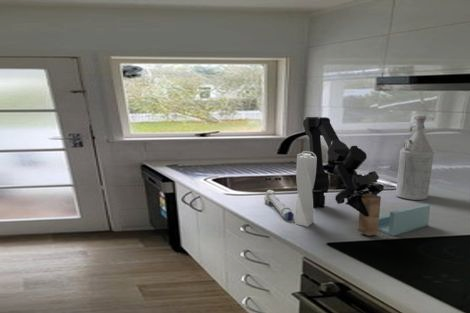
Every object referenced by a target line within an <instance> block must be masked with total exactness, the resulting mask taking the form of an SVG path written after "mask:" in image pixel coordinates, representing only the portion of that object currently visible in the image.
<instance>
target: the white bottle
mask: <svg viewBox="0 0 470 313" xmlns="http://www.w3.org/2000/svg"><path fill="white" fill-rule="evenodd" d="M426 116H427V115H426V114H425V115H424V114H419V113H418V114H417V113H416V114H415V116H414V118H413V120H412V122H413V123H411V125H409V126H410V127H409V131H410V132H412V131H413V128H415V132H414V133H413V134H412V135H411V137H410V138H409V139H404V142H403V145H402V148H401V149H400V150H399V158H398V159H399V161H398V170H397V179H396V190H395V195H396V197H399V198H402V199H406V200H413V201H415V200H416V201H418V200H419V201H420V200H421V201H422V200H426V199H428V198H429V190H430V183H431V176H432V168H433V162H434V155H435V152H434V150H433V149H432V147H431V145H430V143H429V141H428V139H427V137H426V135H425V133H424V131H425V130H426V126H425V122H426V121H425V120H426V119H427V117H426ZM414 120H416V121H415V122H414ZM414 123H415V124H416V125H415V126H413V124H414Z"/></svg>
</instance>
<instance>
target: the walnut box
mask: <svg viewBox="0 0 470 313" xmlns="http://www.w3.org/2000/svg"><path fill="white" fill-rule="evenodd" d="M381 199H382V197H381V196H380V195H378V194H377V195H374V194H370V193H369V194H363V195H361V200H362V202H363V204H364V206H365V208H366V210H367V212H368V214H369V216H367V217H366V216H364V215H363V214H362V213H360V212H359V211H358V213H359V215H358V226H357V227H358V228H357V232H360V233H362V234H364V235H366V236H373V235H377V234H379V230H378V225H379V217H380V209H381V201H382V200H381Z"/></svg>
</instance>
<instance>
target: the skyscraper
mask: <svg viewBox="0 0 470 313" xmlns="http://www.w3.org/2000/svg"><path fill="white" fill-rule="evenodd" d="M310 153H312V154H313V155H314V156H315V157H313V156H311V154H310ZM316 165H317V157H316V155H315V154H314V153H313V152H310V150H304V151H301V153H298V154H296V174H295V175H296V178H295V179H296V180H295V181H296V189H297V199H296V208H295V216H294V219H295V220H294V224H295V225H300V226H304V227H309V226H310V225H311V224H312V223H314V207H313V194H312V190H313V186H314V182H315V176H316Z"/></svg>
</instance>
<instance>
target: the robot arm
mask: <svg viewBox="0 0 470 313" xmlns="http://www.w3.org/2000/svg"><path fill="white" fill-rule="evenodd" d="M302 125H303V129H304V130H303V131H304V133H305V134H306V135H307V137H308V141H309V143H308V144H309V151H310V152H313V153H314V154H315V155H316V157H317V165H316V176H315V182H314V186H313V190H312V194H313V208H319V209H320V208H323V209H324V208H325V204H326V196H325V194H326V193H328V192H329V187H330V177H329V176H330V174H329V173H328V172H326V171H325V169H324V164H323V163H324V162H323V160H324V159H323V151H322V141H321V139H322V138H321V136H322V137H323V139H324V142H325V144H326V145H327V147H328V149H327V151H326V154H327V157H328V159H329V160H330V162H331V163H338V164H337V165H334V168H333V173H334V174H337V173H338V175H339V177H340V179H341V181H342V182H341V185H342V187H345V188H344V189H342V190H340V191H339V192H338V193H337V194H336V195H335V197H334V198H335V202H336V203H337V205H340V204H344V203H345V205H348V206H349V207H351V208H353V210H356V211H358V213H359V212H360V213H362V214H363V215H364V216H366V217H367V216H369V214H368V212H367V210H366V208H365V206H364V204H363V202H362V200H361V195H363V194H369V193H370V194H374V195H377V196H378V195H379V194H380V193H381V192H383V191H384V190H385V188H384V186H383V185H382V184H381V183H378V180H379V179H380V178H379V174H378V173H377V172H376V171H375V170H374V171H370V172H368V173H366V174H361V173H358V172H357V171H356V170H357V169H359V168H360V167H361V165H363V163H364V162H365V161H366V160H367V153H366V151H364V150H363V149H362V148H360V147H359V148H358V145H351V146H350V147H348V145H347V144H346V143H345V142H343V141H341V140H340V138H339V136H338V134H337V133H336V131H335V129H334V128H333V127H334V126H333V125H332V124H331V118H329V117H327V116H325V117H321V116H307V117H305V119H304V120H303V121H302ZM309 154H311V156H313V157H315V156H314V155H313V154H312V153H309ZM370 184H371V185H370ZM345 199H346V202H345Z"/></svg>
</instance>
